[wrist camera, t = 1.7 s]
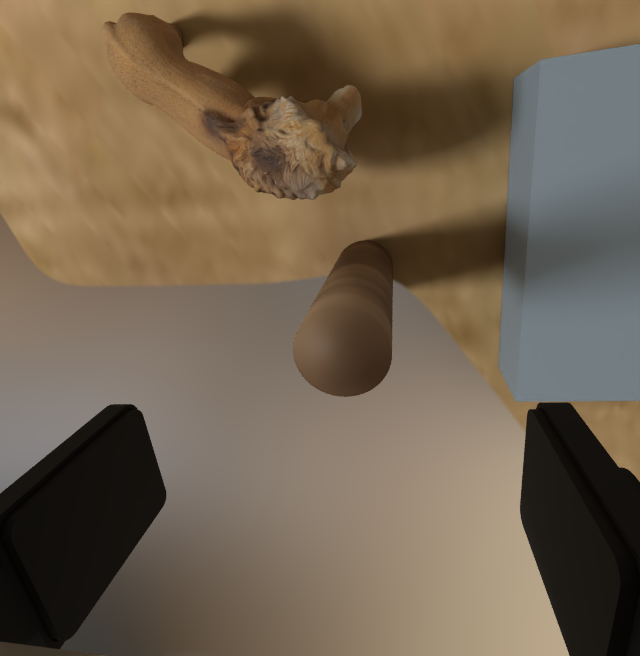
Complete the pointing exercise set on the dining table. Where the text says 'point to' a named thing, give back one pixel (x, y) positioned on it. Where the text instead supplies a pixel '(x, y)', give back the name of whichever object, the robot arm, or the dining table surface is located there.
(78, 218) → the dining table surface
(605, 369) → the socket block
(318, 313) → the peg
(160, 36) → the lion figurine
